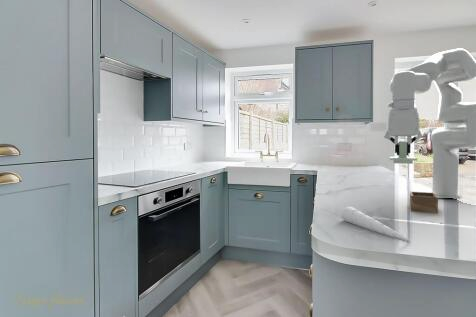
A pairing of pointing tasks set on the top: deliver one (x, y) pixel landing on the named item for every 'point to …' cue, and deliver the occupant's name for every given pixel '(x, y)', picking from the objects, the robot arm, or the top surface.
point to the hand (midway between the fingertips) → (402, 154)
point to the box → (423, 202)
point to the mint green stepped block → (403, 155)
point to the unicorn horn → (368, 223)
